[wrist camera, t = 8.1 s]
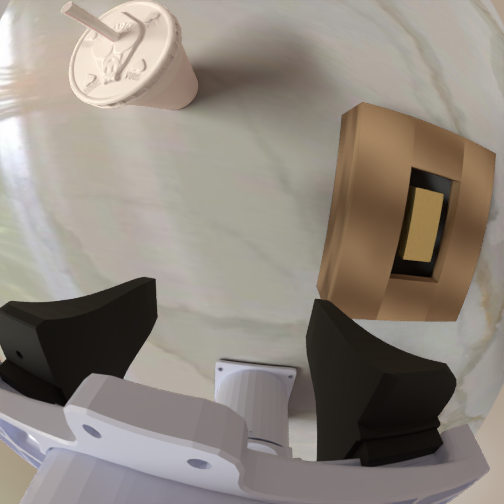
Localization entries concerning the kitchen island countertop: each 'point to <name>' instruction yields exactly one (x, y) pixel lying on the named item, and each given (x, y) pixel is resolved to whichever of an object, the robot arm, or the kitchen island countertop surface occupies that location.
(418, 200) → the block
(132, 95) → the smoothie
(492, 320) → the kitchen island countertop surface
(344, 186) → the brown rectangular hollow block
